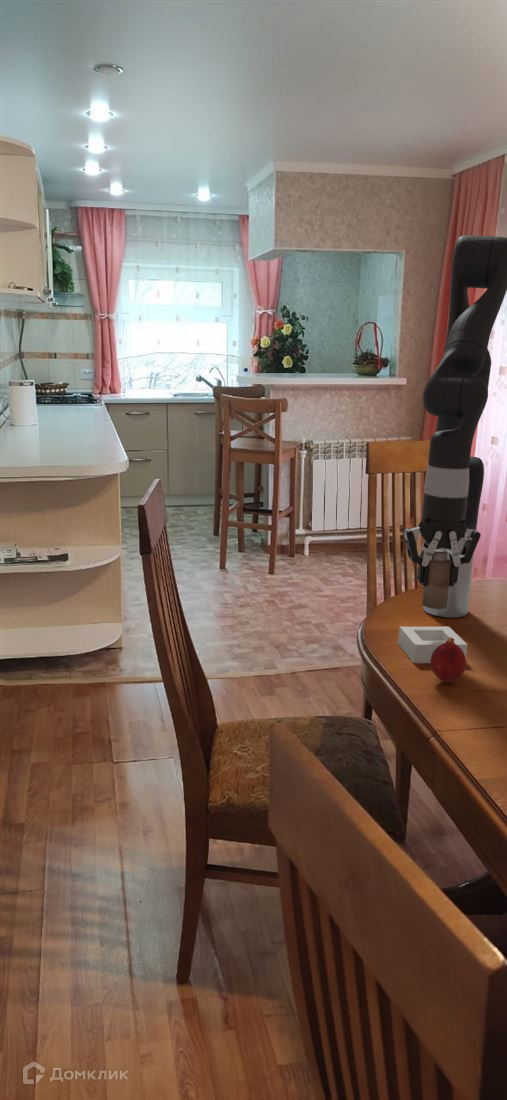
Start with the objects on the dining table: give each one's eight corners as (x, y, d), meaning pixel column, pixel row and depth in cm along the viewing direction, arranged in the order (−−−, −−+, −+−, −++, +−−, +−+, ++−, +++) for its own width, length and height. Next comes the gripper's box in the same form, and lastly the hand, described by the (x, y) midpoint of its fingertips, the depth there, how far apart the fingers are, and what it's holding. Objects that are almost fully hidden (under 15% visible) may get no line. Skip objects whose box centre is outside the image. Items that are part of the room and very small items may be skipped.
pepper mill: (424, 599, 155) (429, 547, 153) (448, 603, 154) (454, 550, 151) (420, 606, 151) (425, 552, 149) (444, 610, 150) (450, 556, 147)
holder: (398, 644, 158) (399, 626, 157) (447, 644, 160) (448, 626, 159) (413, 663, 149) (415, 644, 148) (465, 662, 150) (467, 644, 149)
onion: (464, 691, 137) (469, 645, 136) (428, 687, 139) (433, 642, 137) (463, 678, 143) (467, 634, 141) (428, 674, 144) (432, 630, 142)
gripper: (412, 495, 143) (404, 591, 147) (493, 496, 144) (482, 591, 149) (400, 486, 150) (392, 578, 154) (477, 488, 151) (467, 579, 156)
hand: (436, 584), depth 151 cm, fingers closed on pepper mill, 4 cm apart
